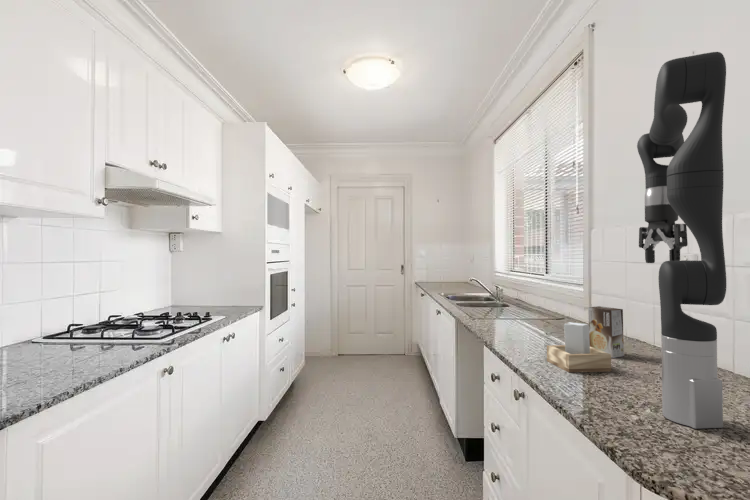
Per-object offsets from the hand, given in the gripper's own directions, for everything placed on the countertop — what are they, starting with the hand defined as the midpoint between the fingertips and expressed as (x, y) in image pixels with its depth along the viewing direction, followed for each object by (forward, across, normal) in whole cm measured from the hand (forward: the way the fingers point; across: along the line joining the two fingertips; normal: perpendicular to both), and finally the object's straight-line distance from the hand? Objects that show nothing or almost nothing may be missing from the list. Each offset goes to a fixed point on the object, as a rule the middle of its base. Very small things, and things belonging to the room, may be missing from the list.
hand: (661, 263), depth 111 cm
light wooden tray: (+32, +16, +15) cm, 39 cm away
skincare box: (+31, +16, +15) cm, 38 cm away
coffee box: (+32, +29, -3) cm, 44 cm away
